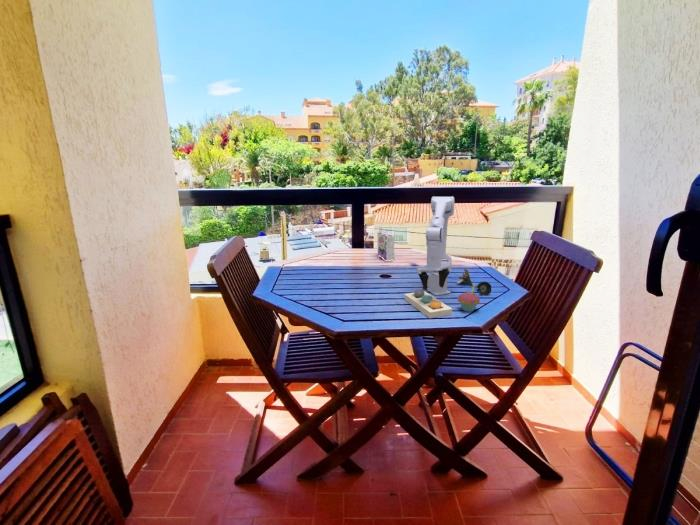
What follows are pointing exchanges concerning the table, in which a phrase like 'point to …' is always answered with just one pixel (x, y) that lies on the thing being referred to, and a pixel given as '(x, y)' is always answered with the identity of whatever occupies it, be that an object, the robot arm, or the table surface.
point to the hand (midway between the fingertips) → (433, 288)
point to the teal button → (426, 299)
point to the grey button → (418, 294)
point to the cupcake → (469, 300)
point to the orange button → (435, 305)
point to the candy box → (386, 245)
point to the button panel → (428, 306)
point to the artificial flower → (482, 287)
